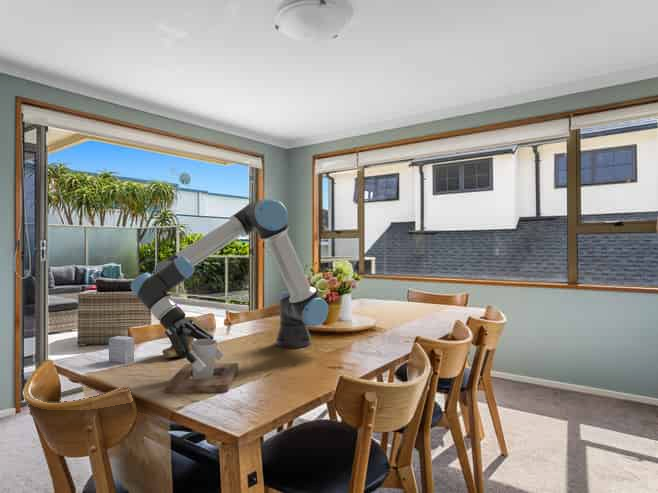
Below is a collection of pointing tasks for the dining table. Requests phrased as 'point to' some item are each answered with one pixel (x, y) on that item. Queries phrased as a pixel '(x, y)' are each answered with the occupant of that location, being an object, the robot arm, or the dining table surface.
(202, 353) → the cup
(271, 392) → the dining table surface
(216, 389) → the board
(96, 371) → the dining table surface
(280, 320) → the robot arm
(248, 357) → the dining table surface
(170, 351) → the wooden stamp
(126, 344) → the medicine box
